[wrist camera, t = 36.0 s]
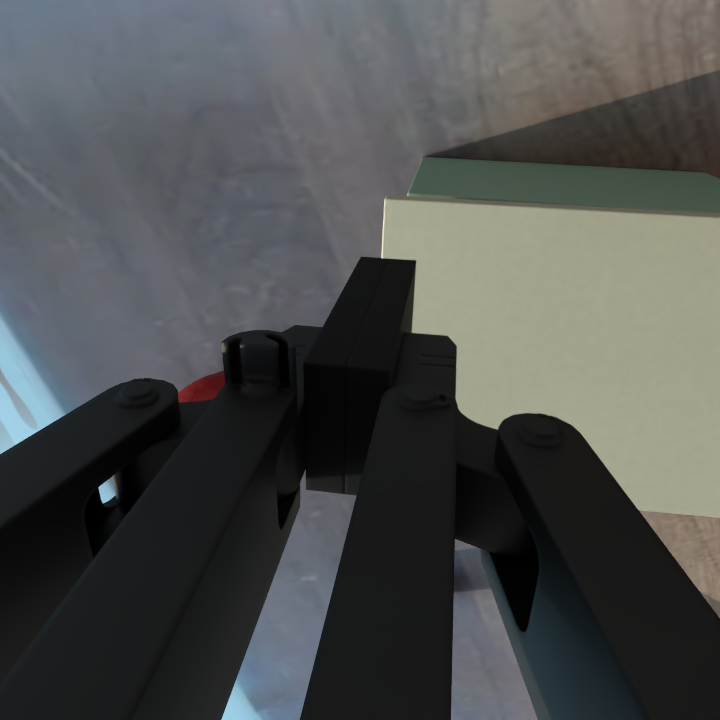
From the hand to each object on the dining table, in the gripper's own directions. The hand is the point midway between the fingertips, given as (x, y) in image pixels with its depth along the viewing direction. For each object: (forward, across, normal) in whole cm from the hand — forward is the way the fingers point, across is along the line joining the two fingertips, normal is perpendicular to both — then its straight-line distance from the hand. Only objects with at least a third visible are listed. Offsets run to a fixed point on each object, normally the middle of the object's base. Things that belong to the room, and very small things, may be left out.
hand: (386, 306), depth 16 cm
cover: (+9, +7, -5) cm, 13 cm away
